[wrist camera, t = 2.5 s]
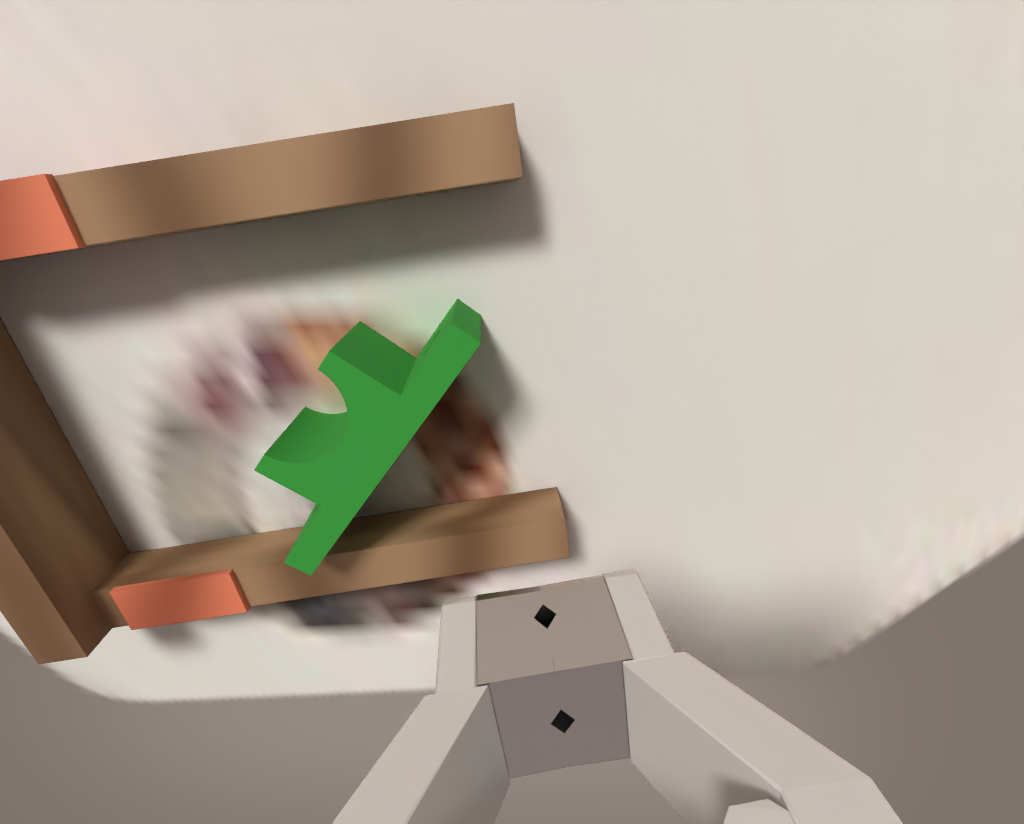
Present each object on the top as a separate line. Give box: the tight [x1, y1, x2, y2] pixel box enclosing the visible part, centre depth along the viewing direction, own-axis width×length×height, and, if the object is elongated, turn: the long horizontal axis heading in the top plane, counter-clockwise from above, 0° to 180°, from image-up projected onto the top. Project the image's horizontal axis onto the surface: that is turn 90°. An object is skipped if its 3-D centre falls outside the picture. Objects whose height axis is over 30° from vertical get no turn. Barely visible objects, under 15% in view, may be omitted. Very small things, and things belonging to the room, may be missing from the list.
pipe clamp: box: [255, 299, 481, 576], centre depth 19 cm, size 11×4×5 cm, turn 143°
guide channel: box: [0, 103, 570, 664], centre depth 19 cm, size 22×17×4 cm
